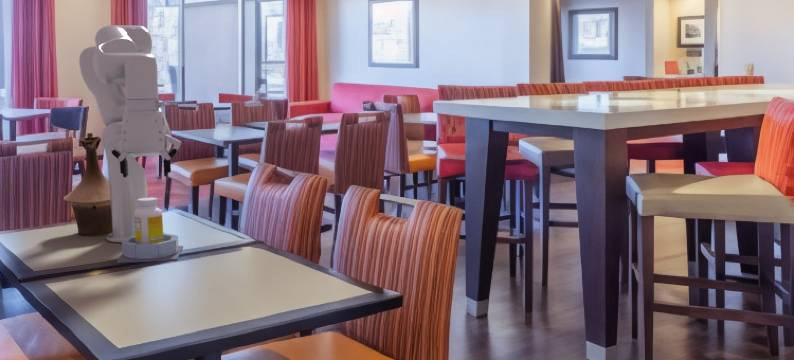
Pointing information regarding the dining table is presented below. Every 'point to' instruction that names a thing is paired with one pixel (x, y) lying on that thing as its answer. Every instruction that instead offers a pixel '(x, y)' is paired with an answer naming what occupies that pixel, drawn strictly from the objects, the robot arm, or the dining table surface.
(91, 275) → the dining table surface
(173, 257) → the mat
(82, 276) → the dining table surface
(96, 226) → the brown tall tapered piece
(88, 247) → the dining table surface
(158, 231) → the supplement bottle
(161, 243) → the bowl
